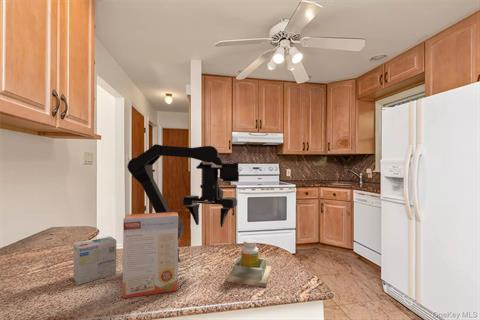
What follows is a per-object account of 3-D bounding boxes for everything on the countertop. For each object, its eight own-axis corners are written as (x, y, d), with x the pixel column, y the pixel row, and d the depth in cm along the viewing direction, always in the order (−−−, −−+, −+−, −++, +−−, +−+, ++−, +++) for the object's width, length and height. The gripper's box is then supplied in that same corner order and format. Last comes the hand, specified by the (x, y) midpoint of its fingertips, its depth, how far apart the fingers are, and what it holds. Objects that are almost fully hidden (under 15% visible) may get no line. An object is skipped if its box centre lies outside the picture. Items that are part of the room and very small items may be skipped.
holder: (226, 281, 72) (226, 267, 72) (236, 264, 84) (237, 253, 84) (266, 286, 69) (266, 272, 69) (271, 269, 81) (271, 257, 81)
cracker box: (177, 281, 72) (178, 210, 72) (177, 292, 66) (178, 215, 66) (125, 287, 68) (127, 213, 68) (121, 299, 62) (123, 217, 63)
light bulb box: (110, 267, 81) (110, 235, 81) (117, 274, 76) (117, 239, 76) (72, 277, 74) (72, 242, 74) (76, 286, 69) (77, 247, 69)
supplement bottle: (252, 277, 73) (253, 244, 73) (237, 272, 76) (238, 241, 76) (261, 270, 78) (261, 240, 78) (246, 266, 81) (247, 237, 81)
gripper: (241, 180, 91) (240, 222, 91) (195, 179, 96) (195, 218, 96) (232, 183, 81) (232, 230, 80) (181, 181, 85) (181, 225, 85)
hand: (209, 225), depth 86 cm, fingers open, 9 cm apart
